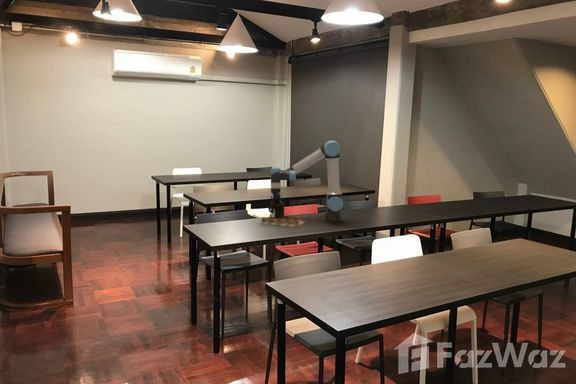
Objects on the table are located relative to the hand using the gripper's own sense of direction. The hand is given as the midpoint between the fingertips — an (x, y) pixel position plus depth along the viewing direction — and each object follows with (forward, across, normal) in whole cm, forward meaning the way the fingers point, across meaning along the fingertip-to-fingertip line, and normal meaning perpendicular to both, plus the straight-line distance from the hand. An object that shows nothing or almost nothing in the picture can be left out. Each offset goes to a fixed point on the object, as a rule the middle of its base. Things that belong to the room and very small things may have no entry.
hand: (275, 215), depth 365 cm
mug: (+2, 0, 0) cm, 2 cm away
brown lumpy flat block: (+6, 0, +7) cm, 9 cm away
